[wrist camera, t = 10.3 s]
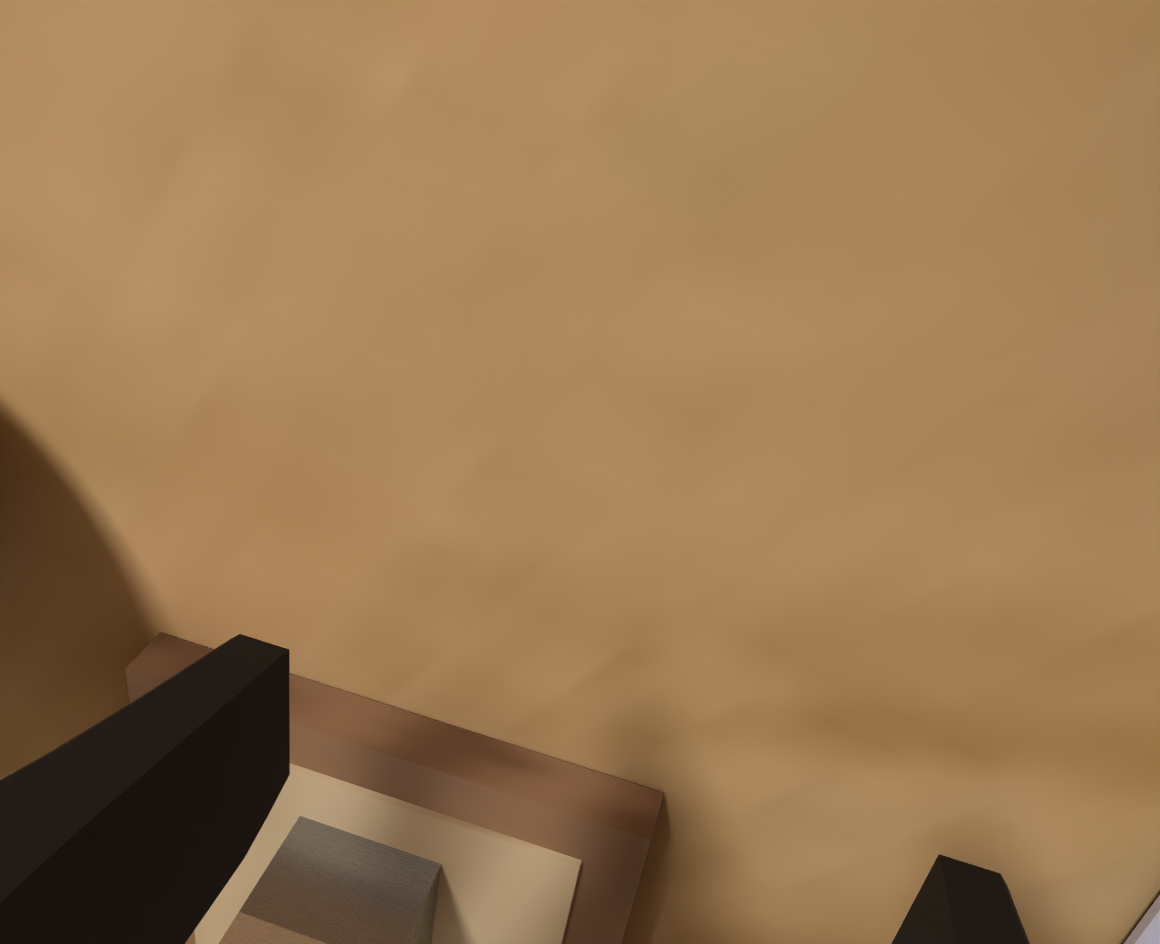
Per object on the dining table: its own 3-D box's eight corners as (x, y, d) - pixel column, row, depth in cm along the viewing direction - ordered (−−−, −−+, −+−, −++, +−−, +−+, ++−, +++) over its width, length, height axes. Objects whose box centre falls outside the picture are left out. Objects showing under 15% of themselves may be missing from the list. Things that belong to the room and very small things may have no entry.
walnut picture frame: (663, 793, 26) (650, 847, 24) (580, 1082, 33) (566, 1136, 32) (160, 632, 28) (120, 673, 26) (189, 939, 35) (159, 984, 34)
